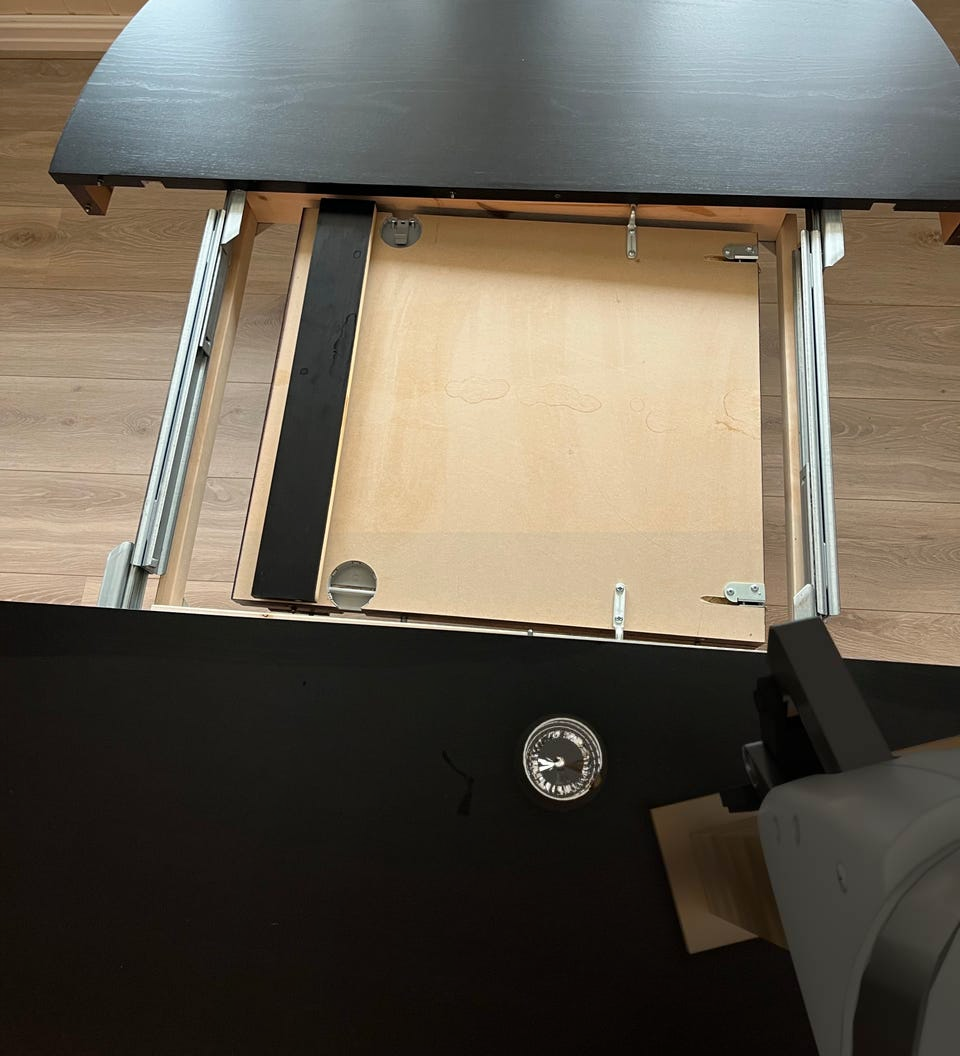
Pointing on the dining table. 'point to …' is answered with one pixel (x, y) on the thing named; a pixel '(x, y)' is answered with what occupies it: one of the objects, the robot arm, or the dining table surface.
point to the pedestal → (724, 869)
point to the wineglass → (560, 762)
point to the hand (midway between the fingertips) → (820, 962)
